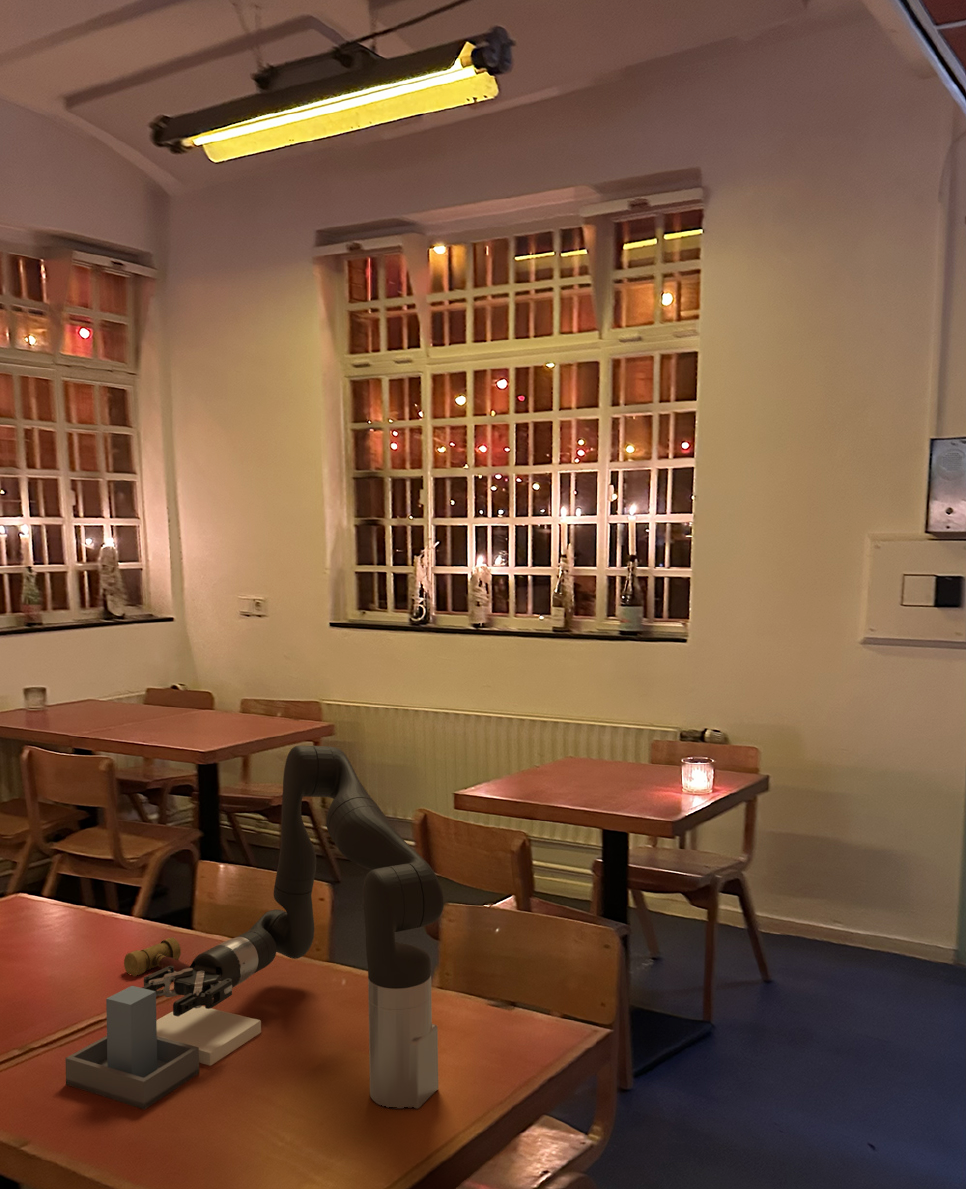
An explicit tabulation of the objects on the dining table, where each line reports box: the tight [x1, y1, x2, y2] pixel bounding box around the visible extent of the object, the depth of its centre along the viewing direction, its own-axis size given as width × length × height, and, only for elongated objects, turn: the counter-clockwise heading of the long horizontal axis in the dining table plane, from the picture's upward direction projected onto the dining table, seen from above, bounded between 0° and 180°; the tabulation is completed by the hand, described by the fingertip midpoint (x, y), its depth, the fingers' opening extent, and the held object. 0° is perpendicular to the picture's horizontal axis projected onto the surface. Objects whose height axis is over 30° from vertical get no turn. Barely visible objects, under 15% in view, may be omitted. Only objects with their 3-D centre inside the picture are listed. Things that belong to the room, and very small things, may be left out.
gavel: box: [123, 936, 190, 977], centre depth 182 cm, size 21×5×10 cm
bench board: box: [156, 1005, 262, 1067], centre depth 157 cm, size 16×12×2 cm
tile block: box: [105, 985, 157, 1078], centre depth 144 cm, size 5×5×12 cm
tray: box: [64, 1035, 200, 1110], centre depth 144 cm, size 16×11×4 cm
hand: (154, 1004), depth 148 cm, fingers open, 8 cm apart
